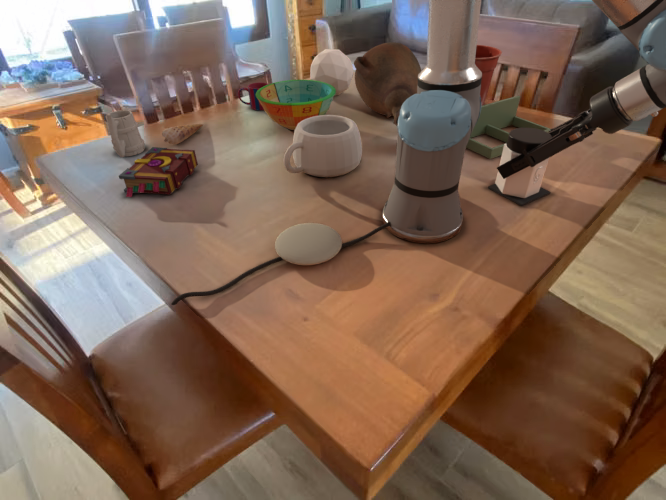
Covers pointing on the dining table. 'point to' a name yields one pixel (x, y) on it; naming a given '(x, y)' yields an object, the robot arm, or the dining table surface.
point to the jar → (529, 177)
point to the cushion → (308, 244)
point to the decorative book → (159, 171)
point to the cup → (253, 95)
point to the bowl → (295, 100)
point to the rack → (498, 125)
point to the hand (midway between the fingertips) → (509, 164)
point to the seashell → (180, 133)
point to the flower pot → (486, 66)
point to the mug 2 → (325, 146)
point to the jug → (387, 78)
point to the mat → (519, 200)
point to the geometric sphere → (332, 69)
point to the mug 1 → (124, 133)
